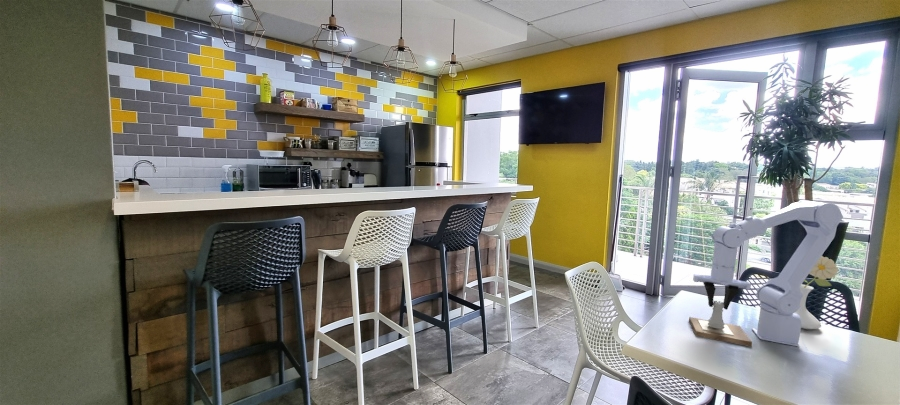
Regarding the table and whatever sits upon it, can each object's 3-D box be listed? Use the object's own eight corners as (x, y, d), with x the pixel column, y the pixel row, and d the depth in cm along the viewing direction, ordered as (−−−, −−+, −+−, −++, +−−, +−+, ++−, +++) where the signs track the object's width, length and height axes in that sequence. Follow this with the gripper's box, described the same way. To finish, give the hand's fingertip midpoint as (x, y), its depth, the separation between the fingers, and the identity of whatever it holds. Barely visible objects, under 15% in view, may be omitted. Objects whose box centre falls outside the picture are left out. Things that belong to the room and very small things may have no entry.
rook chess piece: (727, 330, 115) (730, 304, 115) (711, 328, 116) (714, 302, 115) (720, 326, 119) (723, 301, 119) (704, 323, 120) (707, 299, 120)
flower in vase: (772, 323, 128) (783, 252, 125) (777, 315, 135) (788, 248, 132) (826, 338, 118) (839, 261, 115) (828, 328, 126) (841, 256, 123)
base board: (739, 330, 121) (740, 325, 121) (751, 346, 110) (752, 341, 110) (688, 321, 126) (689, 316, 126) (695, 335, 116) (696, 330, 115)
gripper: (698, 264, 115) (693, 306, 117) (756, 272, 110) (750, 316, 111) (694, 259, 122) (689, 299, 123) (748, 266, 116) (742, 308, 118)
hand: (717, 307), depth 118 cm, fingers closed on rook chess piece, 3 cm apart
